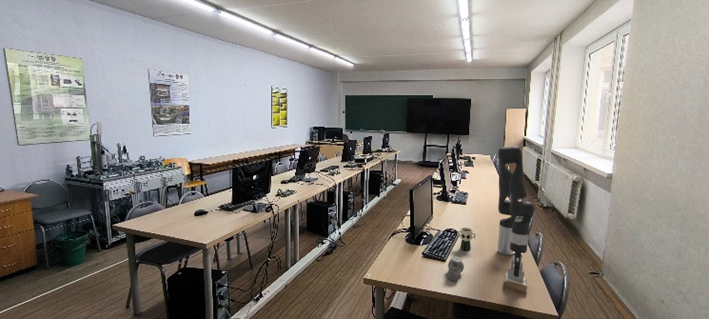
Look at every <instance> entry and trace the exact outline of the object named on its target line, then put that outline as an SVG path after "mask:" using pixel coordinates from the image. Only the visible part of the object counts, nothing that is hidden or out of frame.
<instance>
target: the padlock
mask: <svg viewBox="0 0 709 319" xmlns="http://www.w3.org/2000/svg"><path fill="white" fill-rule="evenodd" d="M513 260H514V259H512V260H511V262H510V266H508V268H507V273H508V278H511V279H514V280H518V281H523V280H524V277H525V271H526V270H525V269H523V267H524V264H523V261H521V265H520V270H519V277H516V276H514V264H513Z"/></svg>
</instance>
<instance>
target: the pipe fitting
mask: <svg viewBox="0 0 709 319" xmlns="http://www.w3.org/2000/svg"><path fill="white" fill-rule="evenodd" d="M447 264H448V265H447V267H448V270H447V273H446V277H447V279H448V280H449V281H450V282H456V281H458V280H459V279H460V278H459V277H460V274H462V273H463V271H464V267H465V265H464V262H462V259H461V258H460V257H458V256H453V257H451V259H449V261H448V263H447Z"/></svg>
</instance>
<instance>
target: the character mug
mask: <svg viewBox="0 0 709 319" xmlns="http://www.w3.org/2000/svg"><path fill="white" fill-rule="evenodd" d="M456 233H457V235H456V236H458V237H460V240H461V242H460V246H459V247H460V249H461V250H465V251H470V250H471V247H472V246H471V241H472V239H476V233H474V232H473V229H472V228H470V227H461V228H460V230H457V232H456Z"/></svg>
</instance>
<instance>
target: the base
mask: <svg viewBox="0 0 709 319" xmlns="http://www.w3.org/2000/svg"><path fill="white" fill-rule="evenodd" d="M506 289H507V290H508V291H511V290H512V292H515V291H516V293H519V292H520V294H525V295H527V293H528V292H527V290H528V277H527V276H524V280H523V281H518V280H514V279H511V278H508V272H505V273H504V281H503V290H506Z"/></svg>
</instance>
